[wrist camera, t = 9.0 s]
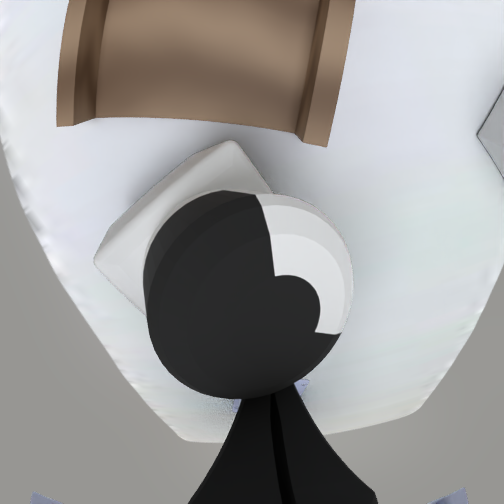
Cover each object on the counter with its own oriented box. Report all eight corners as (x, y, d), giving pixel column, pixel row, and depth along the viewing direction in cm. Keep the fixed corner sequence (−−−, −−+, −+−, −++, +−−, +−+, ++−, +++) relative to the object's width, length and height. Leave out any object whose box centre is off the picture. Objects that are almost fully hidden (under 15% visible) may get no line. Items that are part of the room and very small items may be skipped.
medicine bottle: (182, 308, 19) (251, 451, 8) (106, 229, 16) (57, 328, 5) (261, 237, 20) (404, 306, 9) (196, 151, 16) (308, 109, 6)
